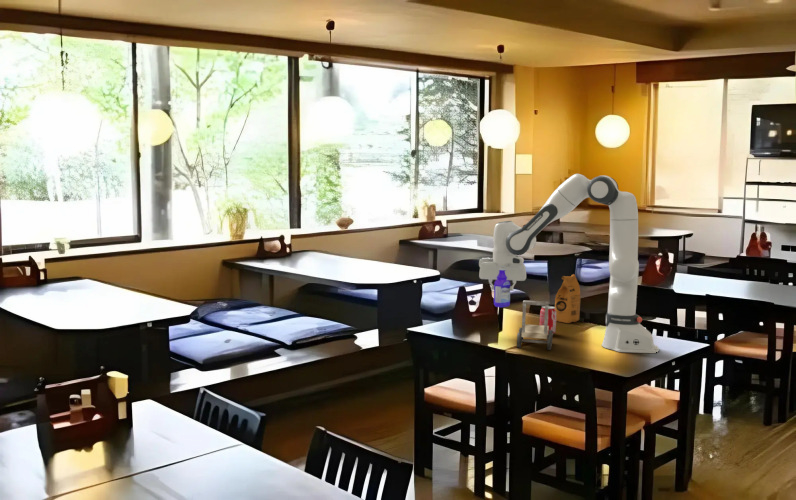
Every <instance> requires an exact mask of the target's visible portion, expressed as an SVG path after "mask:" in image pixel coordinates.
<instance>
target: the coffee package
mask: <svg viewBox="0 0 796 500" xmlns="http://www.w3.org/2000/svg"><path fill="white" fill-rule="evenodd" d="M561 280H563V282H562V284H561V286H560V288H559V289H558V290H557V293H556V294H555V298H554V307H555V310H556V322H559V323H564V324H565V323H566V324H571V323H576V322H578V321H579V320H580V311H581V310H580V309H581V289H580V288H581V287H580V284H579V282H578V279H577V277H576V275H575V274H574V273H573V274H571V276H570V275H569V276H568V275H567V276H565V275H563V276H561Z"/></svg>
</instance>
